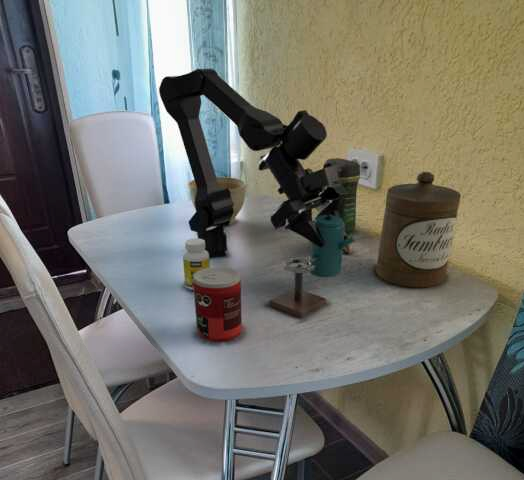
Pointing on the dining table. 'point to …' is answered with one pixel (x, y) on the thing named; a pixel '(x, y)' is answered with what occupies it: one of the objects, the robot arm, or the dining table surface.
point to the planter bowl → (236, 191)
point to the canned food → (218, 303)
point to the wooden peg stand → (297, 299)
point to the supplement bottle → (194, 260)
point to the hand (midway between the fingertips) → (332, 241)
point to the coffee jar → (348, 191)
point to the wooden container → (417, 233)
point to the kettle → (324, 249)
